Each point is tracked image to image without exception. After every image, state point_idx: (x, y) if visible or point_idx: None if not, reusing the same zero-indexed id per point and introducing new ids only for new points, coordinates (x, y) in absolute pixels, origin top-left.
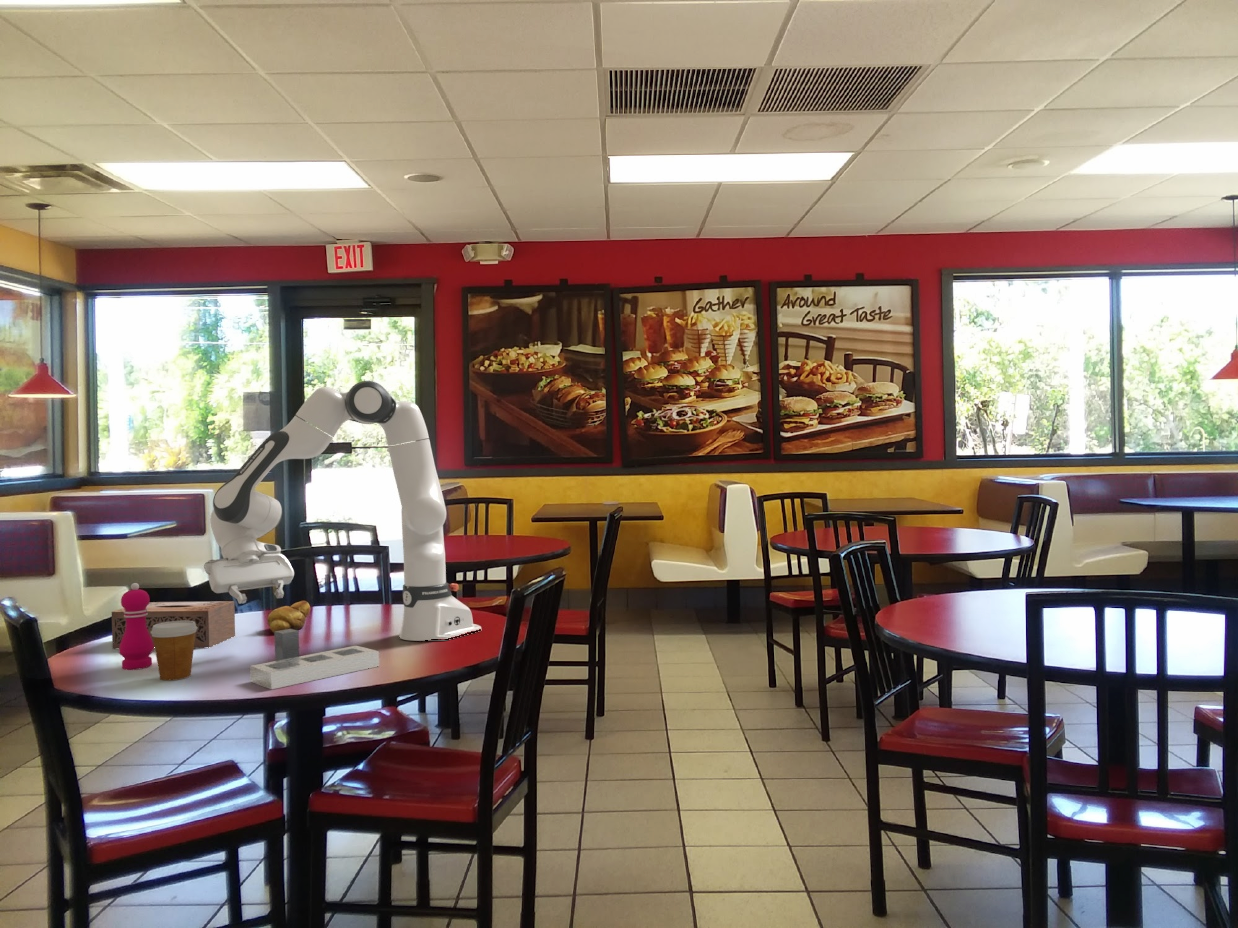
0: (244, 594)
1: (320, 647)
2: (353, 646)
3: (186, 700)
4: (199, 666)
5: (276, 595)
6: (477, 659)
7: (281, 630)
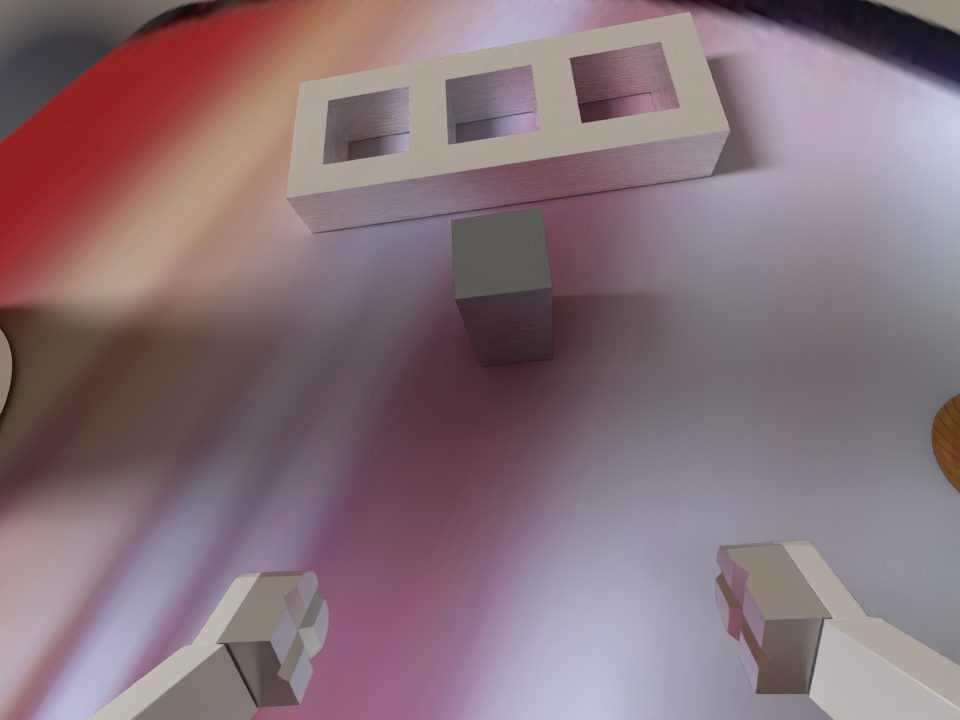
0: (767, 605)
1: (256, 554)
2: (301, 190)
3: (950, 85)
4: (877, 612)
5: (306, 643)
6: (136, 54)
7: (511, 287)
